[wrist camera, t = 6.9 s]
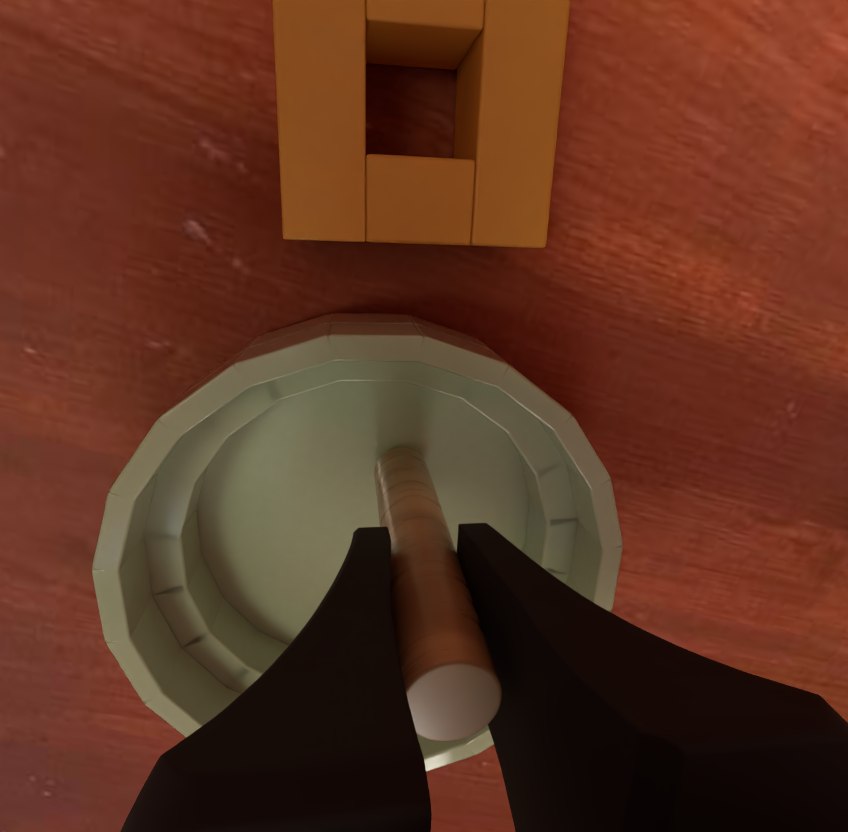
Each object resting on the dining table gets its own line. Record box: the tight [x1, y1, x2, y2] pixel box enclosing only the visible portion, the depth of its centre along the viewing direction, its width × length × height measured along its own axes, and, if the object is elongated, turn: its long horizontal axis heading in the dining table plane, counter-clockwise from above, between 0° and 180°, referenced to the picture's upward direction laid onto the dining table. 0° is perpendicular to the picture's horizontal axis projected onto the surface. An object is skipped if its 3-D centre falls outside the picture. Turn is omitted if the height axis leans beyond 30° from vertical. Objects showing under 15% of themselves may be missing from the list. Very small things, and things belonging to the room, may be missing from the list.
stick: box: [374, 447, 502, 741], centre depth 12 cm, size 2×2×8 cm
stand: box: [272, 0, 571, 248], centre depth 13 cm, size 6×6×3 cm
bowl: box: [92, 313, 623, 772], centre depth 16 cm, size 13×13×4 cm
